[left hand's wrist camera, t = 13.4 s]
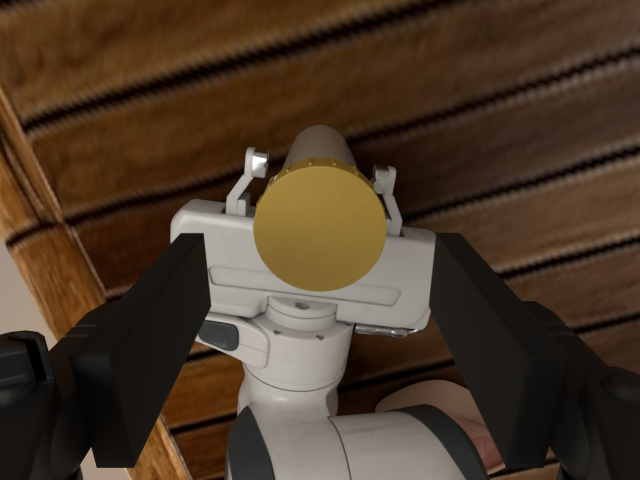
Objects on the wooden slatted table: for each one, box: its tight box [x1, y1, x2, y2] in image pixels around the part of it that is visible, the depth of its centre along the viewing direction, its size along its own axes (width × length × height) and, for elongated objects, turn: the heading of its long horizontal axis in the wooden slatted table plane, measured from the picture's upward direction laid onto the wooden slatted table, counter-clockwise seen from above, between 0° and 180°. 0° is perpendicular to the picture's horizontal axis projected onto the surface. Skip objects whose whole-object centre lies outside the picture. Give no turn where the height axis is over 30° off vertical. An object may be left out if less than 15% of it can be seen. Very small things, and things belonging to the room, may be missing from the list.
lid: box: [253, 157, 387, 292], centre depth 19 cm, size 6×6×2 cm
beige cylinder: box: [281, 125, 359, 171], centre depth 27 cm, size 5×5×19 cm
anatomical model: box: [375, 380, 505, 474], centre depth 44 cm, size 13×4×12 cm
